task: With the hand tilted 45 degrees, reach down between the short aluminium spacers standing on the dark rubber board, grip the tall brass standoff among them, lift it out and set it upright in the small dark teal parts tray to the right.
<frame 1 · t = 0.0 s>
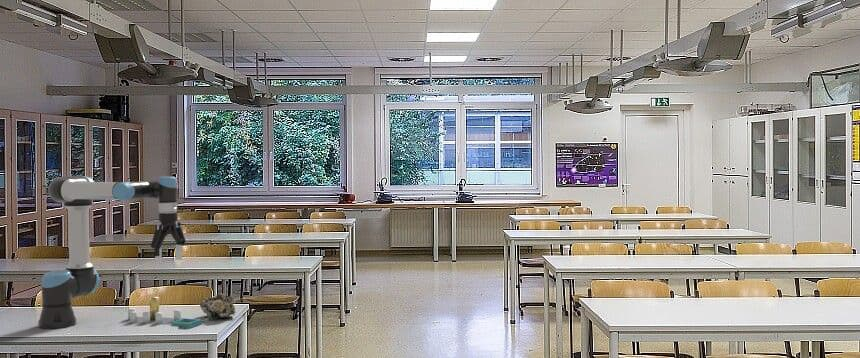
hand: (169, 261, 360), 28 cm above the table, fingers open, 13 cm apart
tray: (186, 325, 362), on the table
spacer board: (152, 322, 369), on the table
mineral specimen: (217, 318, 379), on the table
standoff: (154, 319, 371), point 1 cm above the table, touching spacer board
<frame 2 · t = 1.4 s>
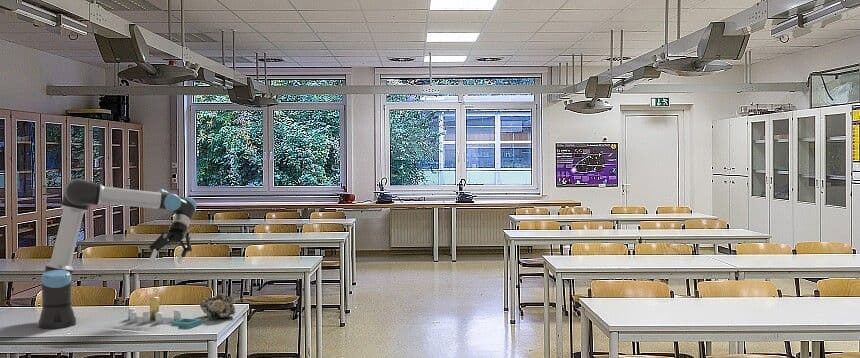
hand: (164, 262, 380), 25 cm above the table, fingers open, 13 cm apart
nothing on the table moved.
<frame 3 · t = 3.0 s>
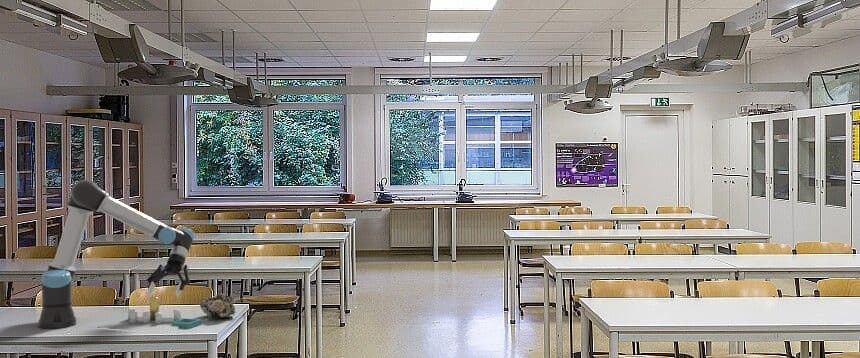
hand: (162, 295, 377), 11 cm above the table, fingers open, 13 cm apart
nothing on the table moved.
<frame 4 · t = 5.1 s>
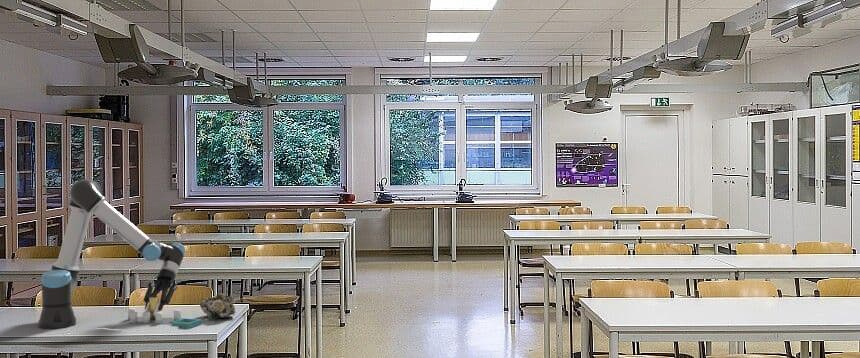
hand: (150, 315, 368), 3 cm above the table, fingers closed on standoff, 4 cm apart
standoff: (154, 319, 371), point 1 cm above the table, touching gripper, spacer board
everything else where it was.
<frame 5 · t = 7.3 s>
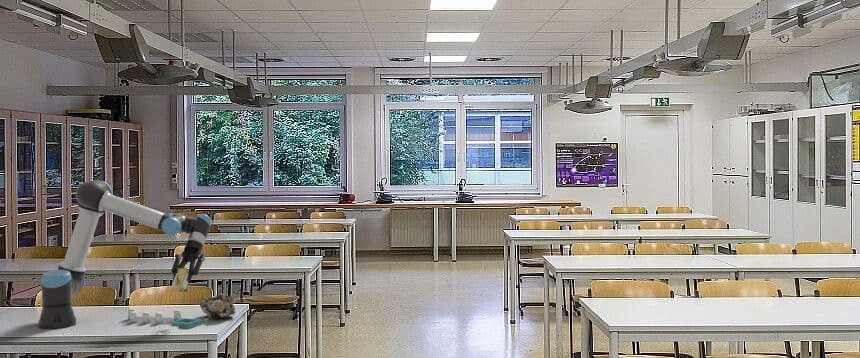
hand: (178, 287, 360), 17 cm above the table, fingers closed on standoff, 4 cm apart
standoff: (183, 291, 364), point 15 cm above the table, touching gripper
everything else where it was.
when the fingers open (5 cm above the table, at t = 9.9 s): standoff drops 2 cm, resting on tray.
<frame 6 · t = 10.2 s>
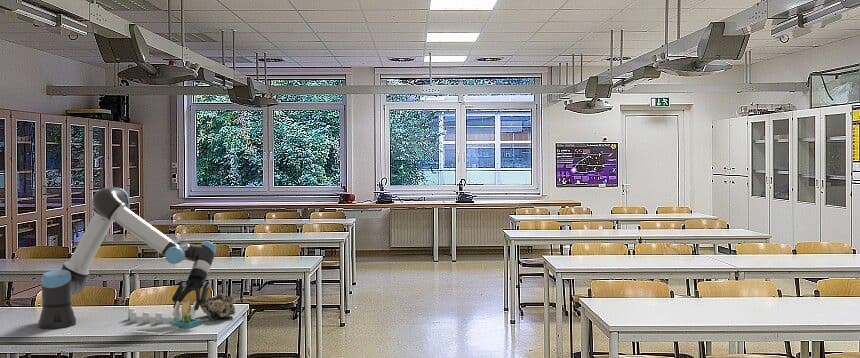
hand: (182, 315, 358), 5 cm above the table, fingers open, 7 cm apart
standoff: (186, 324, 362), point 1 cm above the table, touching tray
everything else where it was.
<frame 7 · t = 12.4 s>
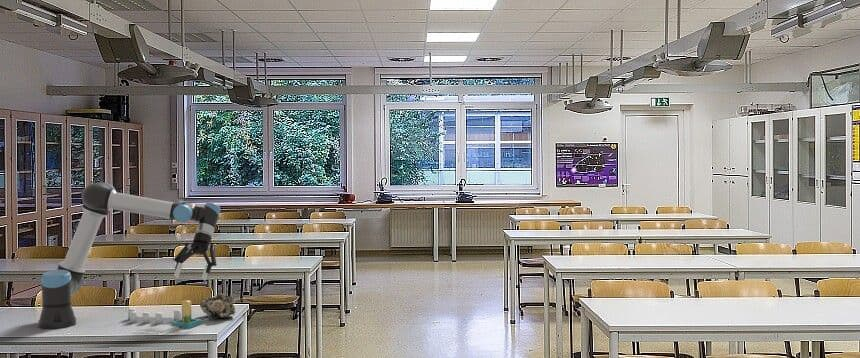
hand: (189, 278, 371), 19 cm above the table, fingers open, 13 cm apart
nothing on the table moved.
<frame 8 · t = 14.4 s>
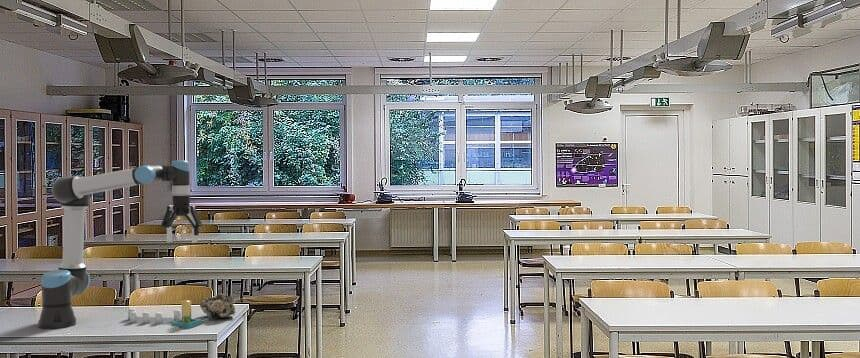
hand: (182, 242, 375), 35 cm above the table, fingers open, 13 cm apart
nothing on the table moved.
at the end: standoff inside the target area on the tray (0.1 cm from its centre), point 0.7 cm above the tray's base; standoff tilted 2°; the gripper is holding nothing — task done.
